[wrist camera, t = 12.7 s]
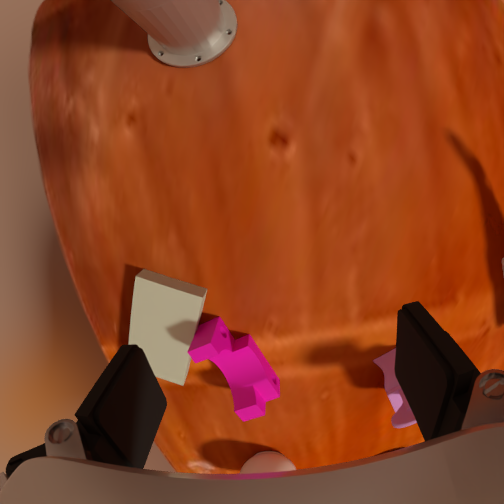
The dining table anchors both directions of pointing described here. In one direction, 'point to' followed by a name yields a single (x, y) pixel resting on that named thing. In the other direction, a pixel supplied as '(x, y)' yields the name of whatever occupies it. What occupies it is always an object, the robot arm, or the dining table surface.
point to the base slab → (165, 322)
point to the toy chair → (395, 391)
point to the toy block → (237, 367)
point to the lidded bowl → (267, 463)
